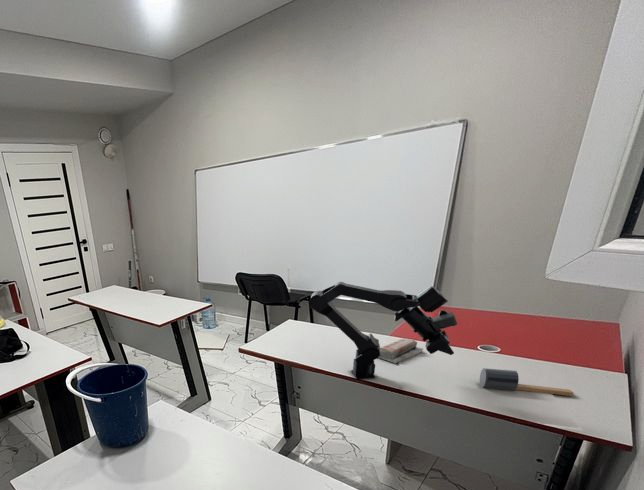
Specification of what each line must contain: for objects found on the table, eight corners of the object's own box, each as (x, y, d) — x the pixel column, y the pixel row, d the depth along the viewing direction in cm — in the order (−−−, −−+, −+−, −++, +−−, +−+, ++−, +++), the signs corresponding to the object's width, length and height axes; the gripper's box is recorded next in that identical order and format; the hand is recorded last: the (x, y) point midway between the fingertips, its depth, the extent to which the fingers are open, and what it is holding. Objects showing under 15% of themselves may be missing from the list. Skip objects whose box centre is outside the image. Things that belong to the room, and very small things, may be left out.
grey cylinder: (487, 378, 114) (520, 381, 111) (484, 364, 118) (516, 366, 114) (481, 391, 118) (513, 394, 115) (478, 376, 122) (509, 379, 119)
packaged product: (397, 353, 138) (373, 346, 146) (396, 364, 140) (372, 356, 148) (425, 340, 145) (400, 334, 154) (423, 351, 147) (399, 345, 156)
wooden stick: (494, 383, 116) (573, 392, 108) (492, 380, 118) (569, 389, 110) (493, 387, 117) (572, 396, 109) (491, 384, 119) (568, 393, 111)
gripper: (446, 314, 108) (484, 350, 107) (437, 297, 123) (471, 329, 122) (412, 336, 114) (447, 371, 114) (407, 318, 129) (439, 348, 129)
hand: (452, 353), depth 119 cm, fingers closed
